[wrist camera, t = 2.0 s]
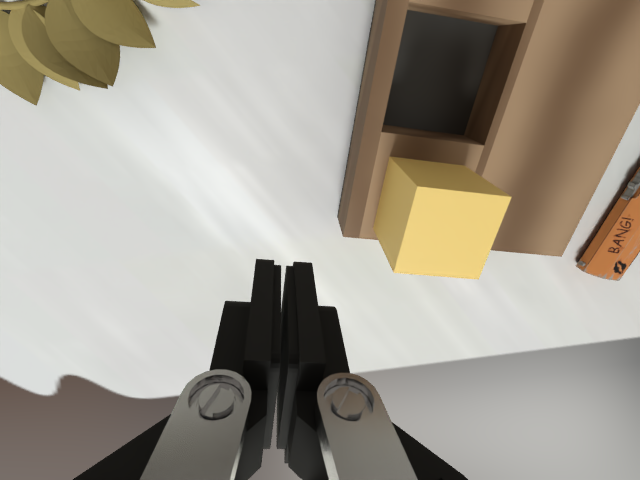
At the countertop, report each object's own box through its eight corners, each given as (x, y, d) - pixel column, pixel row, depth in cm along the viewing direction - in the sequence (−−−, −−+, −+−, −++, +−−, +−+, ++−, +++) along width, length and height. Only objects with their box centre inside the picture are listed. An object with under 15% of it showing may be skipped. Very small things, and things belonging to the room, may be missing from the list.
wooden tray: (735, -202, 17) (894, -291, 12) (534, 236, 27) (582, 272, 23) (427, -293, 15) (485, -438, 10) (337, 217, 25) (347, 252, 21)
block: (464, 165, 21) (511, 196, 16) (442, 234, 23) (478, 279, 19) (389, 156, 20) (417, 186, 16) (373, 228, 22) (393, 272, 18)
